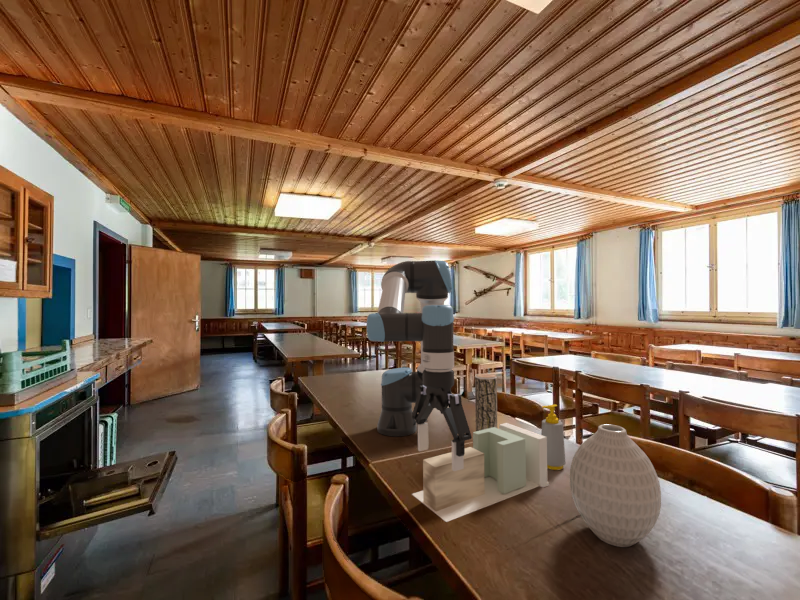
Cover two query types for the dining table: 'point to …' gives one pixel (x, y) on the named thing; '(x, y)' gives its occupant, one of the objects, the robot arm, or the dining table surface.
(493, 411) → the bark log
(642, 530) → the vase
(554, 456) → the soap bottle
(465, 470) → the beige wooden block
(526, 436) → the track
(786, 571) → the dining table surface
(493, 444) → the socket block
